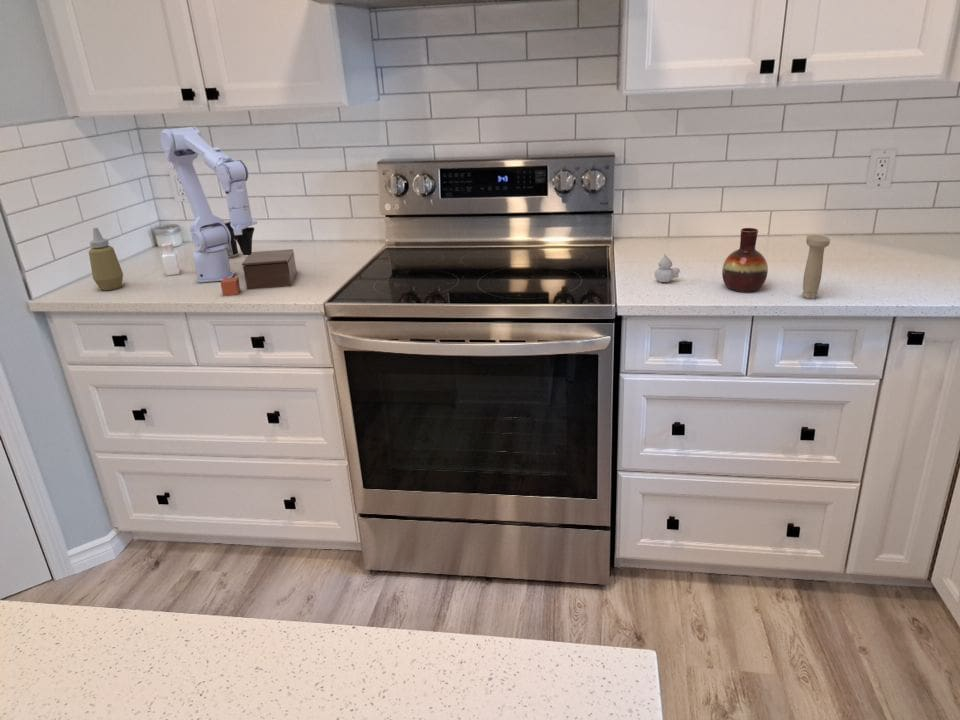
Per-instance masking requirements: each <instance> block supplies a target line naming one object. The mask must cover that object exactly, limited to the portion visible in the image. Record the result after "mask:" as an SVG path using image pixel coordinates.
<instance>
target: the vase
mask: <svg viewBox="0 0 960 720" xmlns="http://www.w3.org/2000/svg"><path fill="white" fill-rule="evenodd" d="M758 233H759V229H757V228H754V227H744V228H741V229H740V241H739V248H738V249H736V250H734V251H732V252H731V253H730V254H728V255H727V257H726V258H725V259H724V262H723V264H722V271H721V275H722V280H723V284H724V285H725V287H726V288H727V289H729V290H730V291H734V292H739V293H752V292H756V291H758V290H759V289H761V288H762V287H763V286H764V284H765V282H766V279H767V277H768V272H769V268H768V262H767V260H766V258H765V256H764V255H763V254H762V253H761V252H760V251H758V250H757V249H756V244H757V240H758Z"/></svg>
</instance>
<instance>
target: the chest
mask: <svg viewBox="0 0 960 720" xmlns="http://www.w3.org/2000/svg"><path fill="white" fill-rule="evenodd" d="M242 269H243V274H244V280H245V285H246V290H254V289H255V290H256V289H257V290H258V289H267V288H269V289H270V288H280V287H281V288H282V287H292V285H293V283H294V281H295V278H296V276H297V274H298V273H297V272H298V271H297V265H296V258H295V252H294V250H293V253H292V254H291V256H290V258H289V260H288V262H284V263H270V264H257V265H243V266H242Z"/></svg>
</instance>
